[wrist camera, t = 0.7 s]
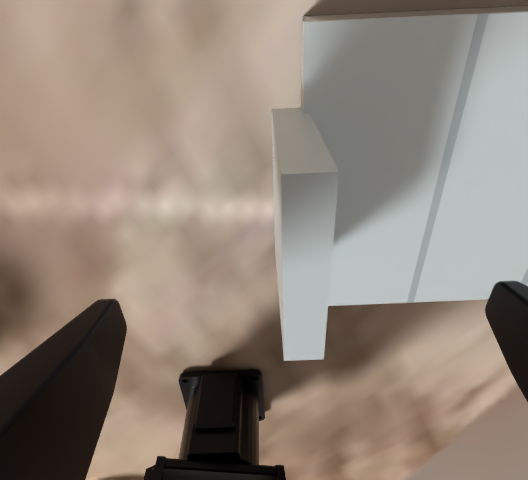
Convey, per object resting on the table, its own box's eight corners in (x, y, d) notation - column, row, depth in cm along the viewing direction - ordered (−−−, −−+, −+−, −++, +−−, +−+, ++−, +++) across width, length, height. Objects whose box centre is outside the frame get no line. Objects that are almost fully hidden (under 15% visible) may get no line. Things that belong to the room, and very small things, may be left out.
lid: (608, 281, 17) (746, 389, 12) (276, 295, 17) (284, 408, 12) (791, -2, 11) (1214, -8, 6) (269, 22, 11) (279, 36, 6)
